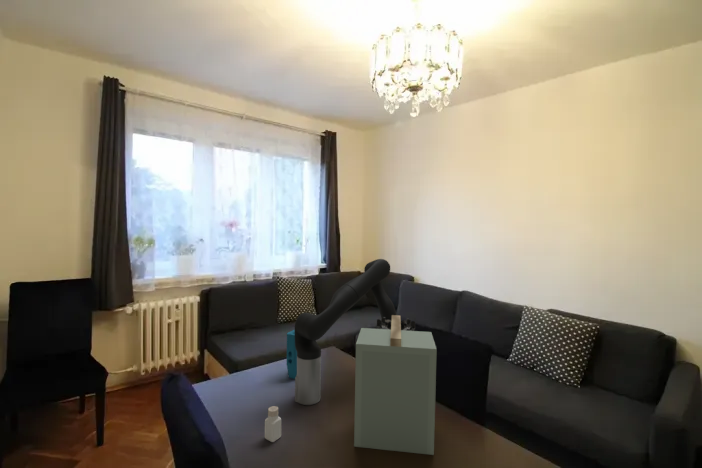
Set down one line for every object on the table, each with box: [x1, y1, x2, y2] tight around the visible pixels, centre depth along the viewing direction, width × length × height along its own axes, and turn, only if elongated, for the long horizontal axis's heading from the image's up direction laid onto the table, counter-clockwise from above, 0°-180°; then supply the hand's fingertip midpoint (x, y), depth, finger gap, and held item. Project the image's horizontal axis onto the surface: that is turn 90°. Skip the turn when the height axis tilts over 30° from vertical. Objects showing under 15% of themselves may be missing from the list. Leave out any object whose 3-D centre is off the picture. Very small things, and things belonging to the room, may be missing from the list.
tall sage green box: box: [353, 327, 438, 456], centre depth 111 cm, size 24×16×32 cm, turn 82°
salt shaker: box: [264, 405, 282, 443], centre depth 109 cm, size 4×4×10 cm
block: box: [286, 329, 297, 380], centre depth 154 cm, size 12×5×20 cm, turn 153°
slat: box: [390, 314, 402, 347], centre depth 115 cm, size 3×26×2 cm, turn 172°
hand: (396, 320), depth 123 cm, fingers open, 8 cm apart
